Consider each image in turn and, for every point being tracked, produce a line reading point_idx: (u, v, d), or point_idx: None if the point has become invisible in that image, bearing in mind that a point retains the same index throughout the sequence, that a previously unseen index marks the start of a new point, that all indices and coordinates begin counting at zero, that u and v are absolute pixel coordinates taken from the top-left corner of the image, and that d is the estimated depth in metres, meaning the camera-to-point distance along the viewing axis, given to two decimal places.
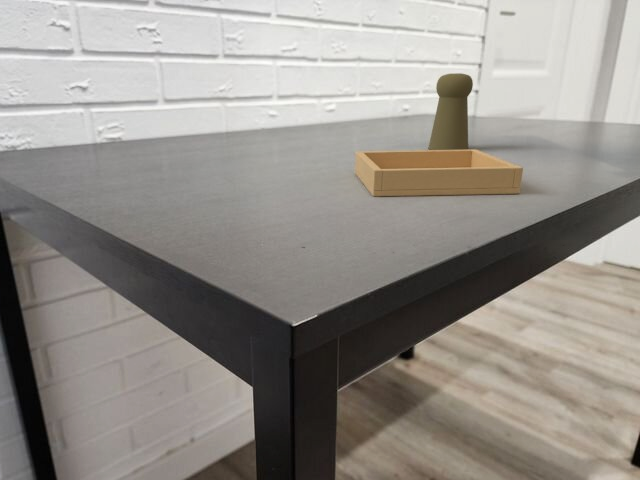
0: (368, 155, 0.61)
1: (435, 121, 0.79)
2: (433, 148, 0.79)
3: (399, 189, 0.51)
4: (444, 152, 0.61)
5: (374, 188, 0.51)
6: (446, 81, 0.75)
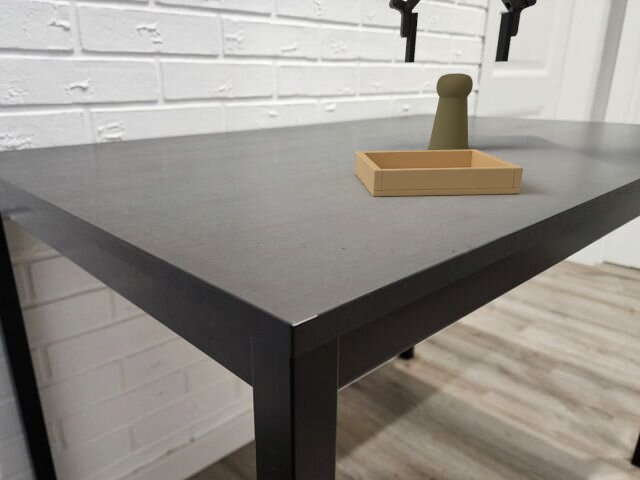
0: (368, 155, 0.61)
1: (435, 121, 0.79)
2: (433, 148, 0.79)
3: (399, 189, 0.51)
4: (444, 152, 0.61)
5: (374, 188, 0.51)
6: (446, 81, 0.75)
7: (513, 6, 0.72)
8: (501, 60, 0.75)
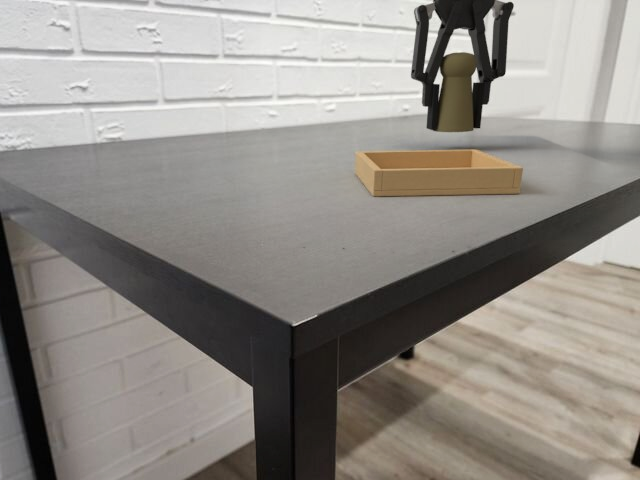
0: (368, 155, 0.61)
1: (439, 102, 0.77)
2: (438, 129, 0.78)
3: (399, 189, 0.51)
4: (444, 152, 0.61)
5: (374, 188, 0.51)
6: (449, 60, 0.74)
7: (484, 75, 0.75)
8: (474, 127, 0.78)
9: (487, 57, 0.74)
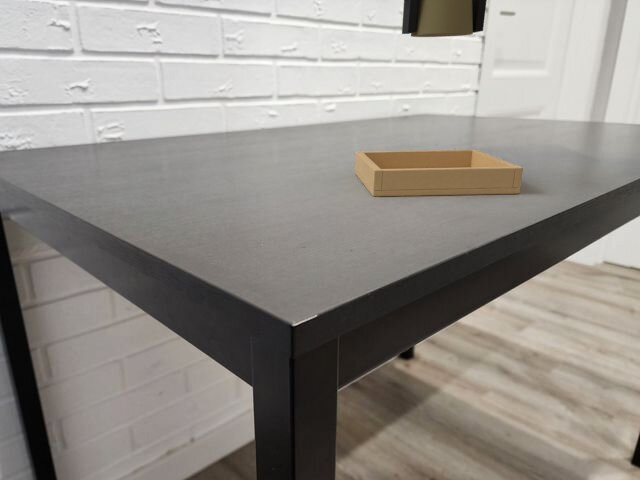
0: (368, 155, 0.61)
1: None
2: (418, 31, 0.51)
3: (399, 189, 0.51)
4: (444, 152, 0.61)
5: (374, 188, 0.51)
6: None
7: None
8: (474, 29, 0.51)
9: None
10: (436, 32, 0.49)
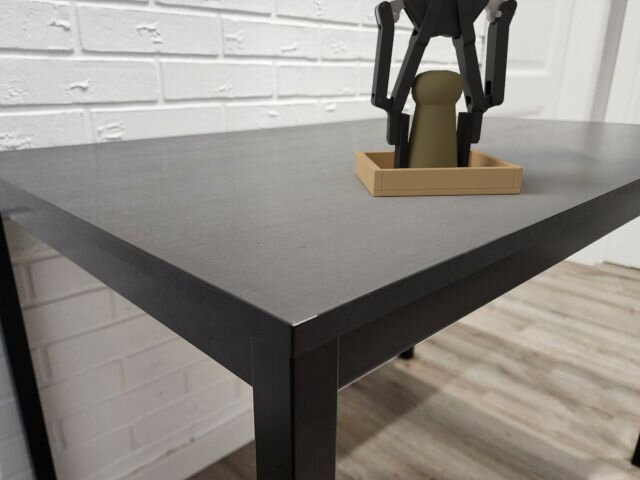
0: (368, 155, 0.61)
1: (410, 138, 0.55)
2: None
3: (399, 189, 0.51)
4: None
5: (374, 188, 0.51)
6: (424, 81, 0.52)
7: (473, 103, 0.53)
8: None
9: (478, 78, 0.52)
10: None
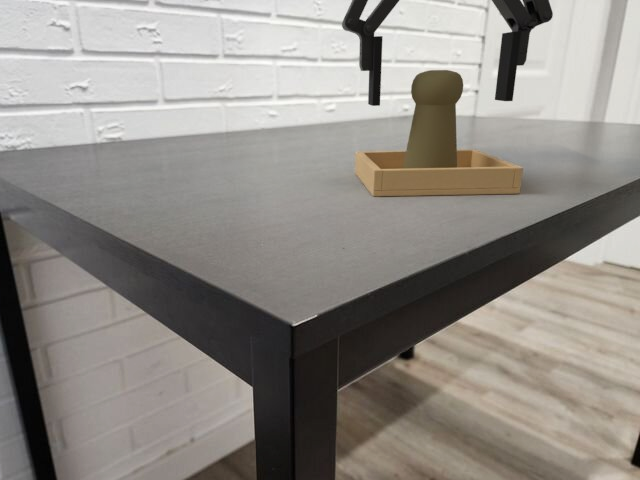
0: (368, 155, 0.61)
1: (410, 138, 0.55)
2: None
3: (399, 189, 0.51)
4: None
5: (374, 188, 0.51)
6: (424, 81, 0.52)
7: (519, 23, 0.50)
8: (503, 99, 0.53)
9: None
10: None
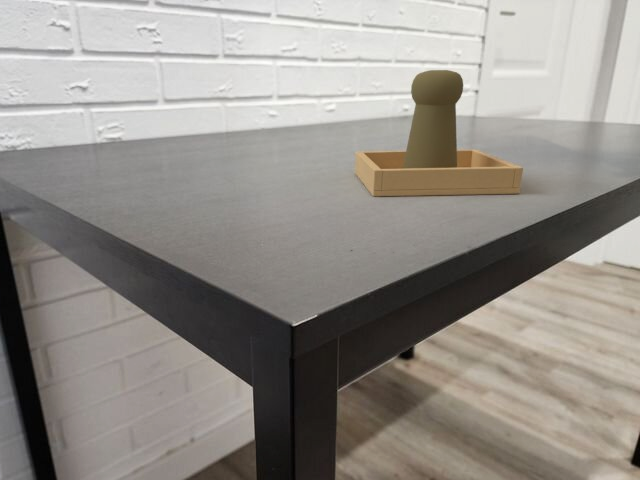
0: (368, 155, 0.61)
1: (410, 138, 0.55)
2: None
3: (399, 189, 0.51)
4: None
5: (374, 188, 0.51)
6: (424, 81, 0.52)
7: None
8: None
9: None
10: None
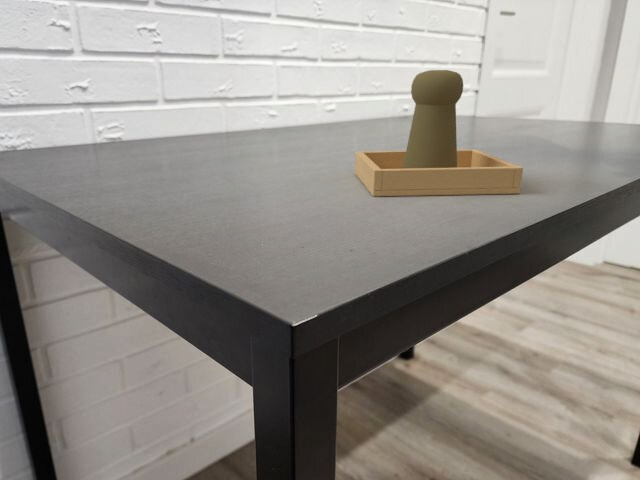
0: (368, 155, 0.61)
1: (410, 138, 0.55)
2: None
3: (399, 189, 0.51)
4: None
5: (374, 188, 0.51)
6: (424, 81, 0.52)
7: None
8: None
9: None
10: None
